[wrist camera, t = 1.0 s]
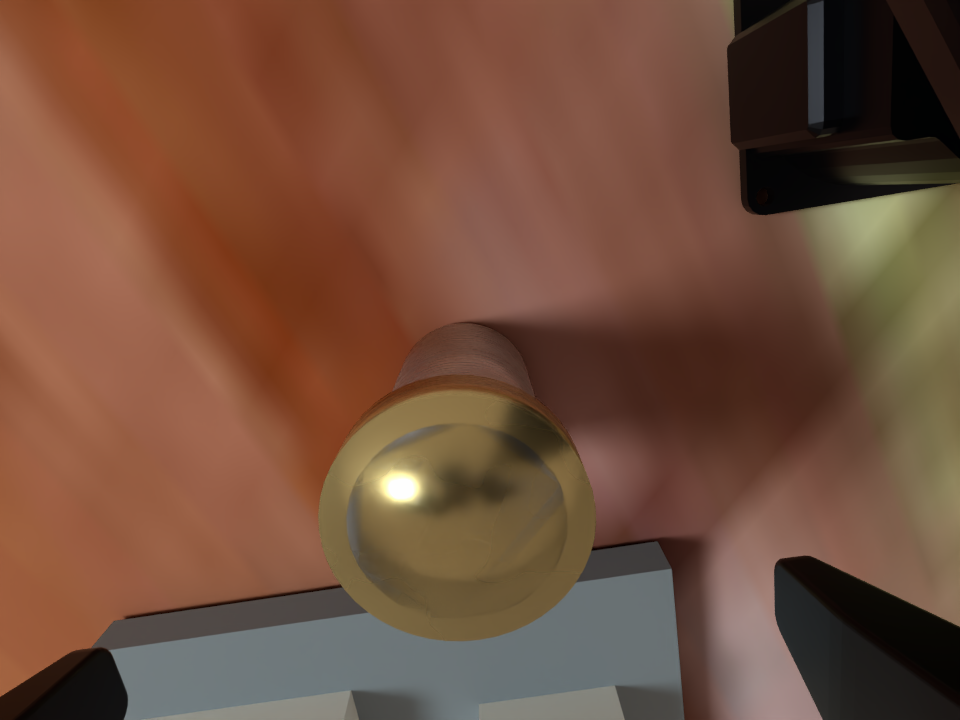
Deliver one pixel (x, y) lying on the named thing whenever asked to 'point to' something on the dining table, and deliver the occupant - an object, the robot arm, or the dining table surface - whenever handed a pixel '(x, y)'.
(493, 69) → the dining table surface
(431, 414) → the gold capped canister
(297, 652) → the board
